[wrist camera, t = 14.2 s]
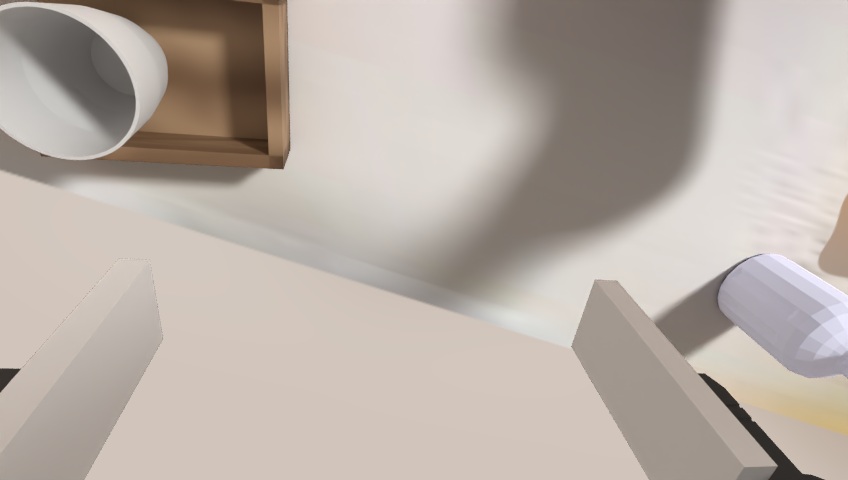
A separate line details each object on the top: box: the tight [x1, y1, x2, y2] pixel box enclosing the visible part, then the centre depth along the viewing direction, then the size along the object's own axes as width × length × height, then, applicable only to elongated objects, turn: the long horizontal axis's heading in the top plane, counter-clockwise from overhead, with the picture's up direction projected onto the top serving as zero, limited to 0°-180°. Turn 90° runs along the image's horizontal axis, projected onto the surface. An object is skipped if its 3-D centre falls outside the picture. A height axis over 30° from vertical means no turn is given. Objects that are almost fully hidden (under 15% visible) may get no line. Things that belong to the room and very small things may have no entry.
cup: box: [0, 2, 168, 160], centre depth 29 cm, size 8×8×10 cm
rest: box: [38, 0, 290, 169], centre depth 33 cm, size 12×16×5 cm
